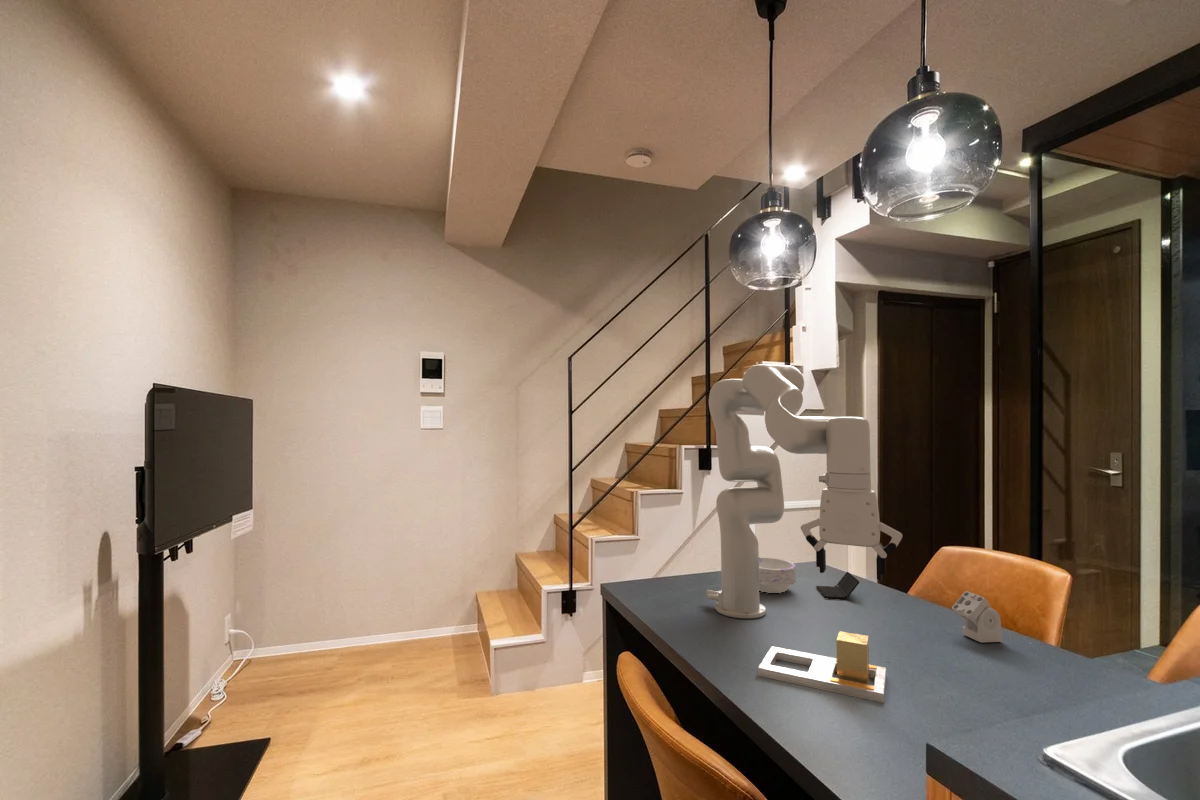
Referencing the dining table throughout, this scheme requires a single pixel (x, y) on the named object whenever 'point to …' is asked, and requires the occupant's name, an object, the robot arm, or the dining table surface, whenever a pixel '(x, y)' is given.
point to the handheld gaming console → (840, 588)
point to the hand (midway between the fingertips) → (850, 574)
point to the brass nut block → (853, 657)
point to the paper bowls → (775, 575)
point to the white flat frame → (821, 674)
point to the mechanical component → (978, 618)
